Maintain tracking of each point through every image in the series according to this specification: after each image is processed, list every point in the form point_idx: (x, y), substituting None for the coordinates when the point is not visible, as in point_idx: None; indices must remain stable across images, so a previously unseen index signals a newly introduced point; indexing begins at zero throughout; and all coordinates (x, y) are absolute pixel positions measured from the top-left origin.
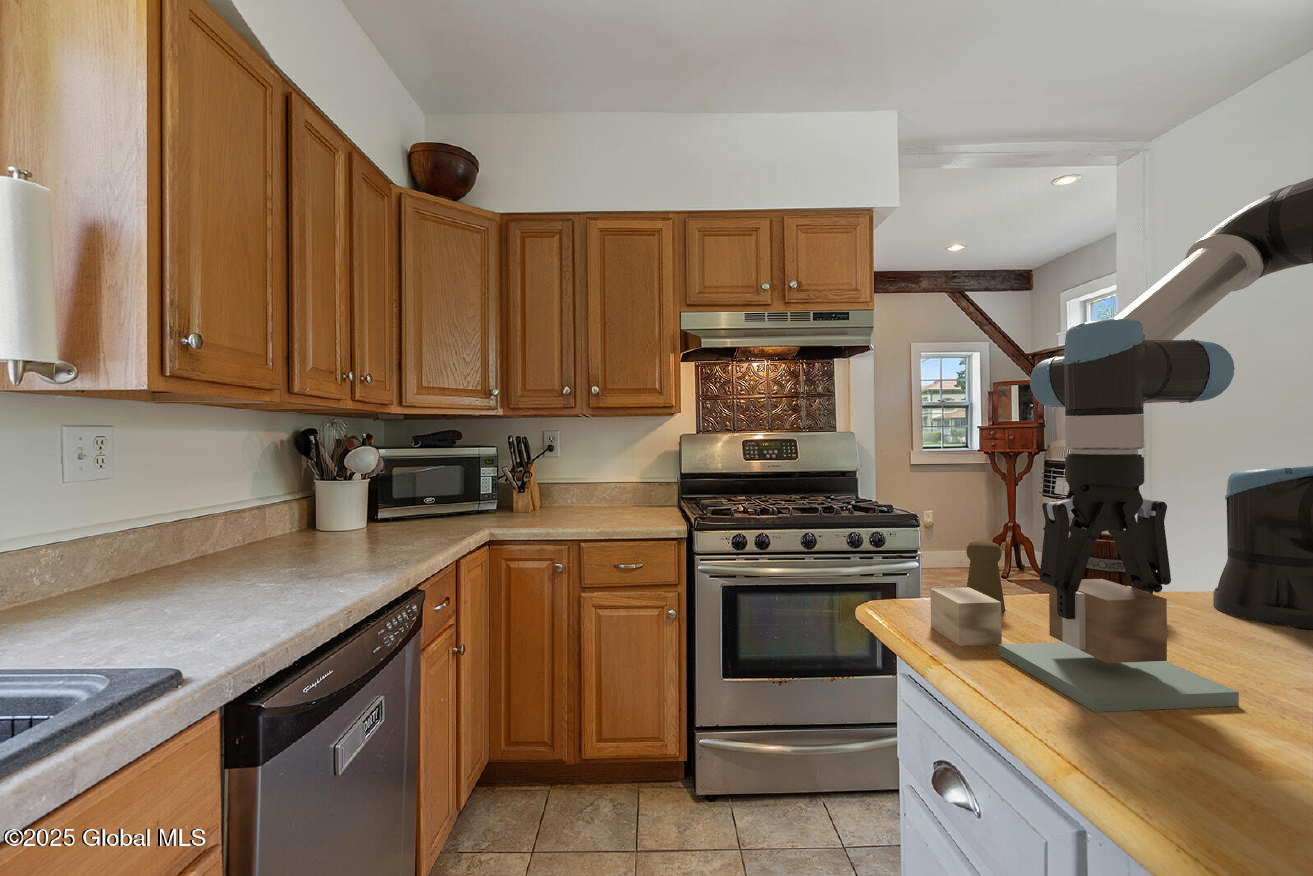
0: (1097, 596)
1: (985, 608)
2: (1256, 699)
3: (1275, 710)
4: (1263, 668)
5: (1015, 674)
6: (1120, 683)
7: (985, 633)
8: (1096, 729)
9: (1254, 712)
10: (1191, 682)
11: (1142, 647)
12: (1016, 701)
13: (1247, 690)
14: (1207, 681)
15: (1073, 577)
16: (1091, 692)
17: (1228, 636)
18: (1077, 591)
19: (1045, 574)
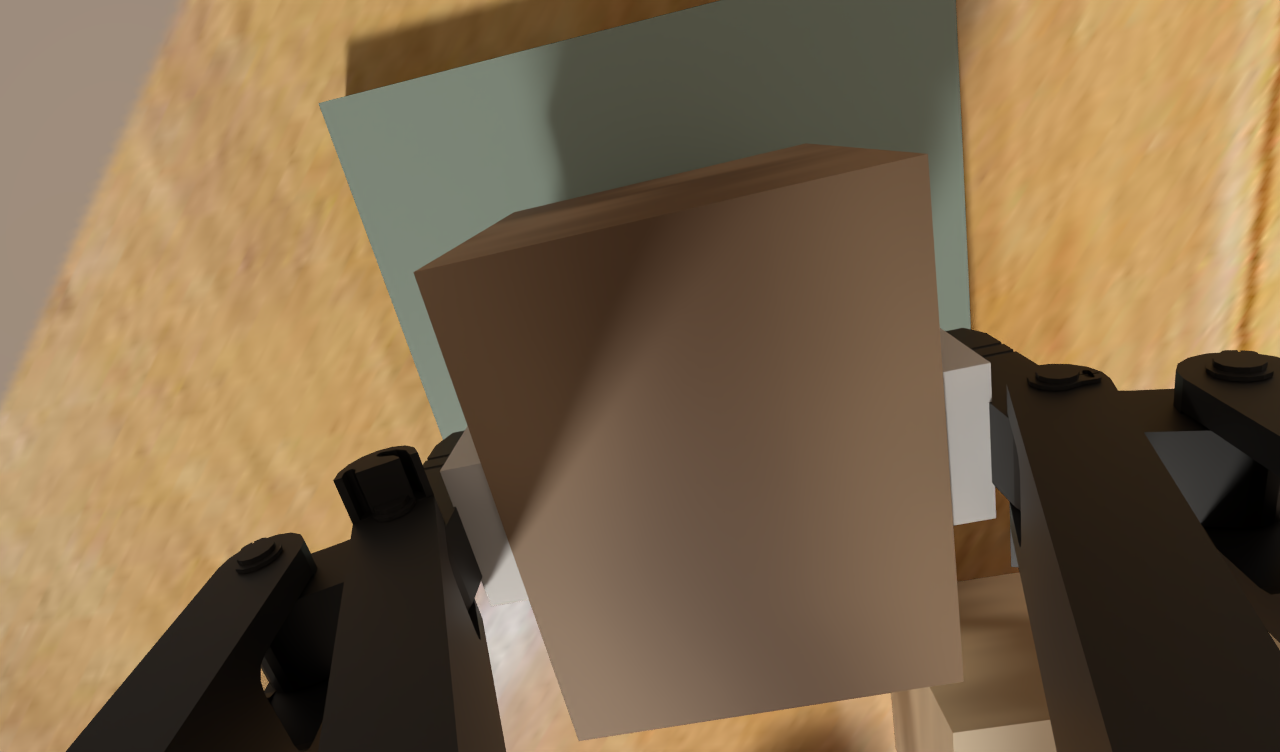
0: (919, 275)
1: (1018, 698)
2: (250, 183)
3: (235, 84)
4: (92, 472)
5: (1005, 313)
6: (741, 133)
7: (966, 613)
8: None
9: (318, 53)
10: (450, 182)
11: (627, 191)
12: (1175, 31)
13: (240, 265)
14: (382, 202)
15: (1118, 419)
16: (926, 5)
17: (73, 730)
18: (949, 436)
19: (1276, 521)
